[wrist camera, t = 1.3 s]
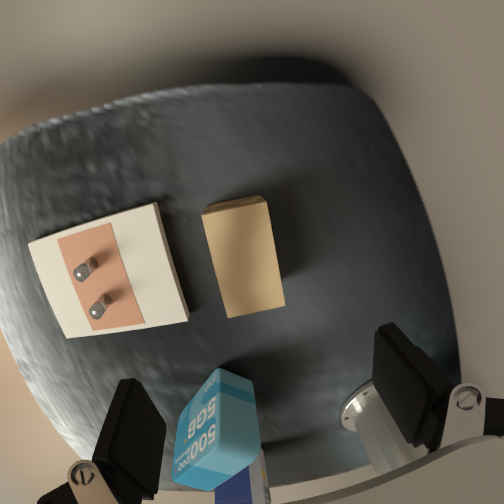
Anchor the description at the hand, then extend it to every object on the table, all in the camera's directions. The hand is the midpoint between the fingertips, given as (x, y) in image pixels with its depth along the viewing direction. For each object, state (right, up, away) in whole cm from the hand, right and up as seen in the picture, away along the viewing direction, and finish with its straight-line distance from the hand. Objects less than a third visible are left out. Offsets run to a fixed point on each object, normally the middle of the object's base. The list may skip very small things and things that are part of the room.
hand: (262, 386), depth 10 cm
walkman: (-3, -28, +28) cm, 40 cm away
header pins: (-16, +2, +16) cm, 23 cm away
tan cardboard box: (-1, +6, +18) cm, 19 cm away
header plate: (-16, +2, +17) cm, 24 cm away
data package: (-5, -14, +24) cm, 28 cm away
